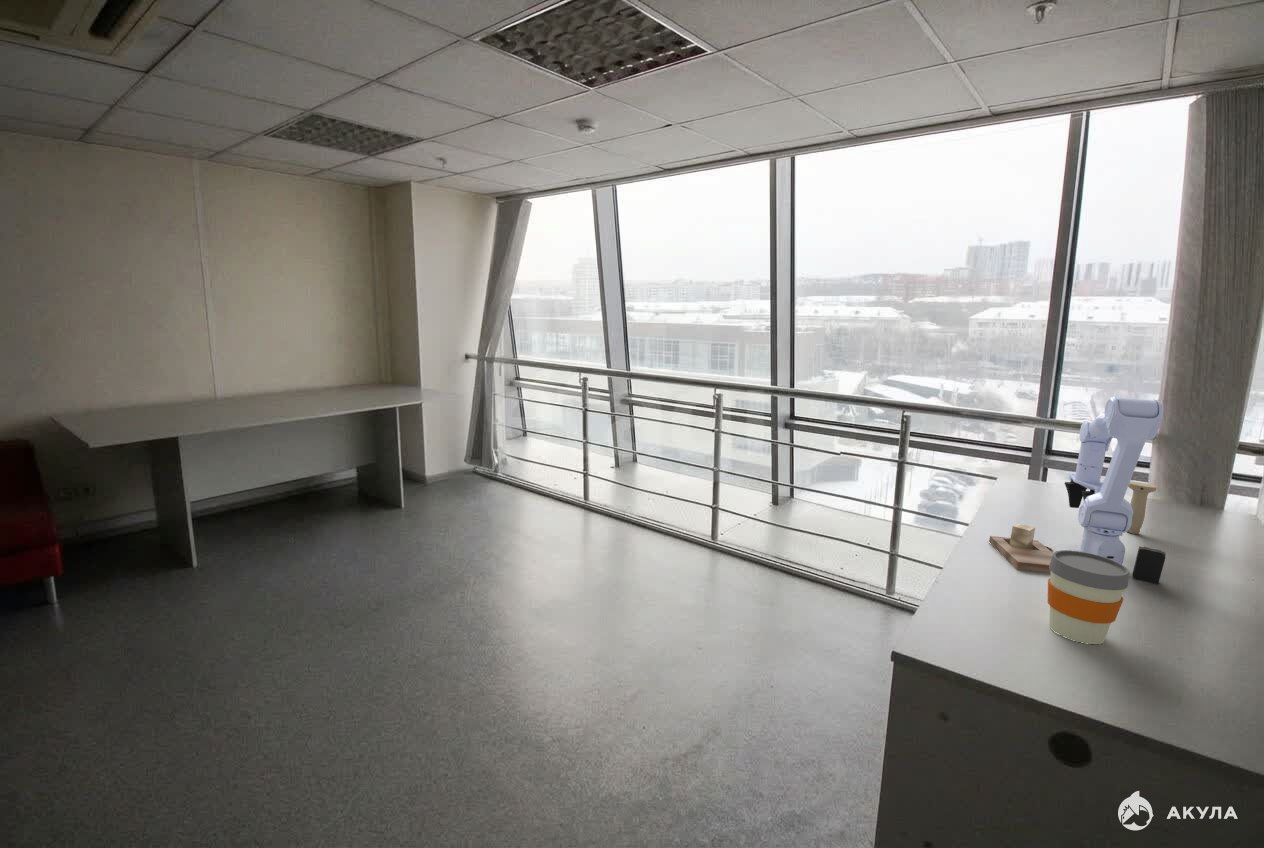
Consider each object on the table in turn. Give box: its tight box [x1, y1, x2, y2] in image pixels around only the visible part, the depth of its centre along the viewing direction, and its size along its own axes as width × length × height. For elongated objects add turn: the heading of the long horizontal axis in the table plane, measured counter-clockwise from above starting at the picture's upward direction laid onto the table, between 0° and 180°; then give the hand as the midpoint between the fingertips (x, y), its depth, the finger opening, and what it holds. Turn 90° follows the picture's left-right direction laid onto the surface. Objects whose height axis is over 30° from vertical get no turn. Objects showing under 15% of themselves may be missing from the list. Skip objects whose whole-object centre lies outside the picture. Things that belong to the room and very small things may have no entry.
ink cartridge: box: [1131, 546, 1166, 585], centre depth 147 cm, size 5×2×8 cm, turn 52°
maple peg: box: [1010, 523, 1036, 549], centre depth 162 cm, size 4×4×7 cm
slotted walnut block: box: [988, 535, 1054, 574], centre depth 159 cm, size 18×12×2 cm, turn 170°
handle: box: [1126, 480, 1157, 535], centre depth 180 cm, size 5×6×15 cm
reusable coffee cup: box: [1047, 549, 1130, 645], centre depth 120 cm, size 13×13×15 cm
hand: (1081, 511), depth 172 cm, fingers open, 7 cm apart
